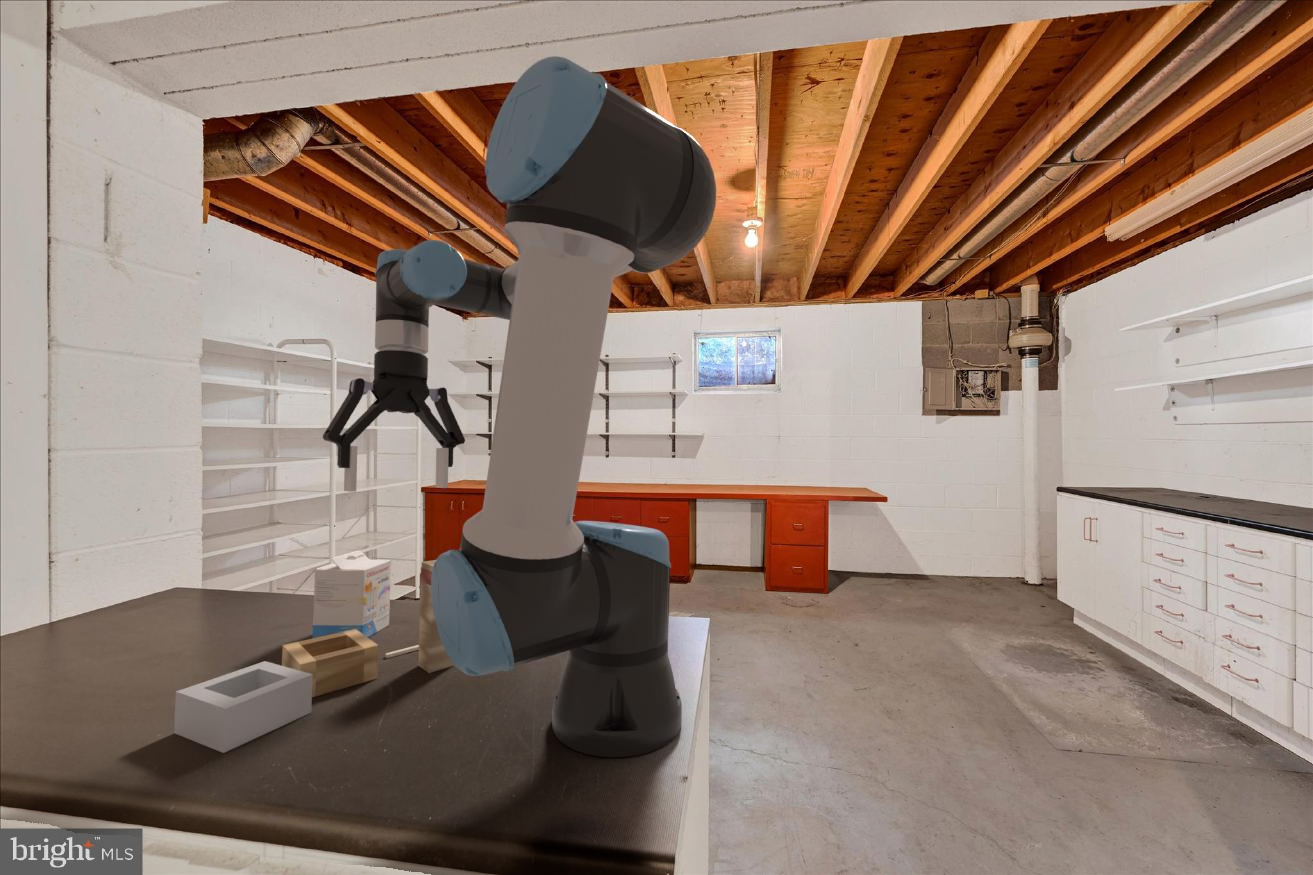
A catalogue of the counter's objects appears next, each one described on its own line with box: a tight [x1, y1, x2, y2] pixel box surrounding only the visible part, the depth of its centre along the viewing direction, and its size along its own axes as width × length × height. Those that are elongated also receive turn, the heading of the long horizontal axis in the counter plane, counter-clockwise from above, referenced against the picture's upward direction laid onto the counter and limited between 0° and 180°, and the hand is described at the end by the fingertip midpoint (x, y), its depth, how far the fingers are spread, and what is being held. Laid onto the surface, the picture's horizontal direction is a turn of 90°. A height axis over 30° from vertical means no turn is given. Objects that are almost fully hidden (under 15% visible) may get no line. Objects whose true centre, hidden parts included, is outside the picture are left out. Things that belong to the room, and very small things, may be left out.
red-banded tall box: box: [417, 559, 455, 674], centre depth 75 cm, size 4×4×15 cm
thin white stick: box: [384, 644, 419, 659], centre depth 81 cm, size 1×10×1 cm, turn 138°
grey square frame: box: [173, 660, 313, 754], centre depth 59 cm, size 9×9×4 cm
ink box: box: [311, 549, 392, 639], centre depth 88 cm, size 9×8×13 cm
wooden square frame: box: [281, 629, 379, 698], centre depth 70 cm, size 9×9×4 cm
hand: (398, 489), depth 79 cm, fingers open, 13 cm apart
